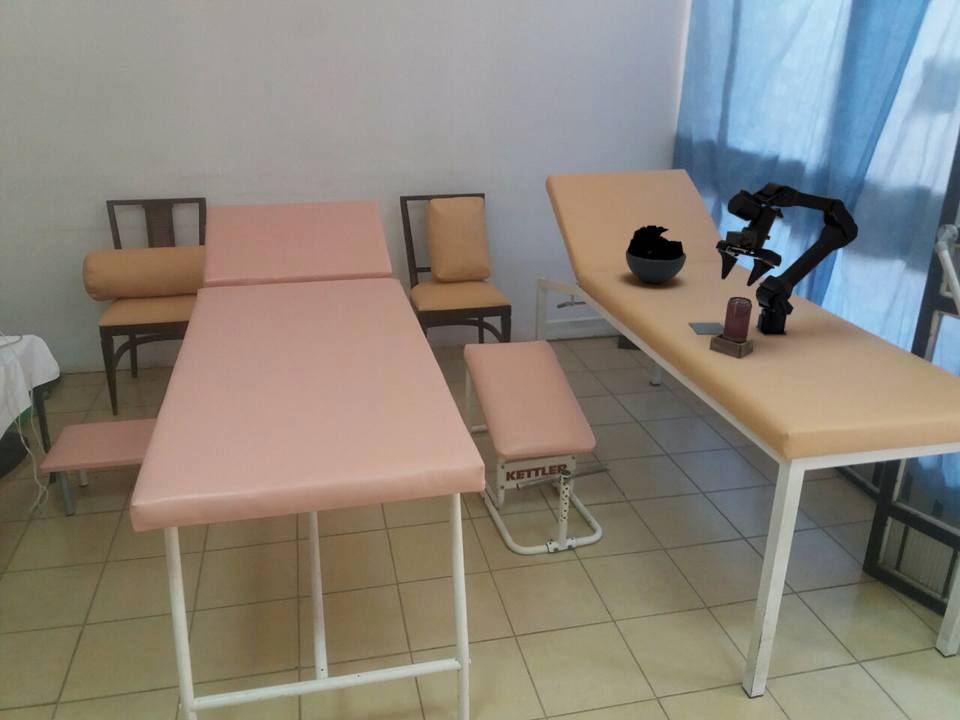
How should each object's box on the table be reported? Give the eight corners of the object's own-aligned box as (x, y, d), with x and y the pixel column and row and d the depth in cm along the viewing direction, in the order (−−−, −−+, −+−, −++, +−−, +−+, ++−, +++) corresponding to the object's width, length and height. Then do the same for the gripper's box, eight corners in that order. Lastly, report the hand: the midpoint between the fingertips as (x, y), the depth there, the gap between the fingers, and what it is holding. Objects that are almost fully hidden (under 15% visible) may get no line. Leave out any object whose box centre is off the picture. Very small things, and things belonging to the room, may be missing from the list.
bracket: (723, 342, 213) (724, 330, 212) (752, 351, 208) (754, 339, 206) (709, 348, 209) (711, 336, 208) (739, 358, 203) (741, 345, 202)
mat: (718, 323, 228) (718, 322, 228) (729, 334, 219) (729, 333, 219) (688, 323, 227) (688, 322, 227) (697, 334, 219) (697, 333, 219)
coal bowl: (648, 270, 279) (653, 218, 271) (695, 283, 264) (702, 228, 257) (611, 280, 267) (615, 225, 260) (657, 294, 253) (663, 237, 245)
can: (718, 351, 208) (726, 301, 202) (723, 343, 213) (730, 294, 207) (742, 355, 205) (750, 305, 200) (746, 347, 210) (754, 298, 205)
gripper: (714, 212, 211) (691, 266, 213) (767, 221, 196) (742, 279, 197) (740, 227, 217) (717, 279, 219) (793, 237, 202) (769, 293, 203)
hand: (735, 282), depth 209 cm, fingers open, 9 cm apart
